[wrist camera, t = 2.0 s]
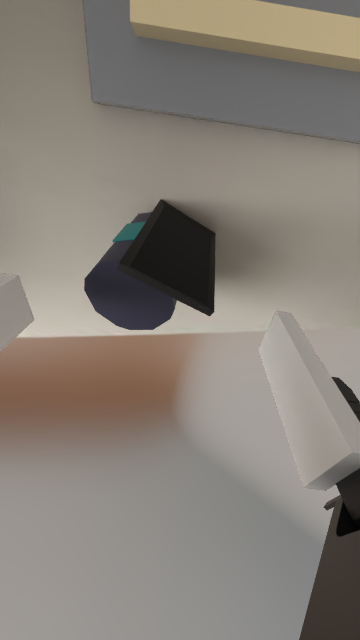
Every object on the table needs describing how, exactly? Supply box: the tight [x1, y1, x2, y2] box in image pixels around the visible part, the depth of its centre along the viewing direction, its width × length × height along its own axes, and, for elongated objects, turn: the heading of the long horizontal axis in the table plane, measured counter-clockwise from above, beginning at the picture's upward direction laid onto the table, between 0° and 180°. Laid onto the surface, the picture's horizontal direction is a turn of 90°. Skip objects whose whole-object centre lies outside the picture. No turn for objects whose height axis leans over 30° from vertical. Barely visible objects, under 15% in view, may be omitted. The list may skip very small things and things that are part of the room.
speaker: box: [84, 200, 215, 330], centre depth 15 cm, size 8×6×10 cm
